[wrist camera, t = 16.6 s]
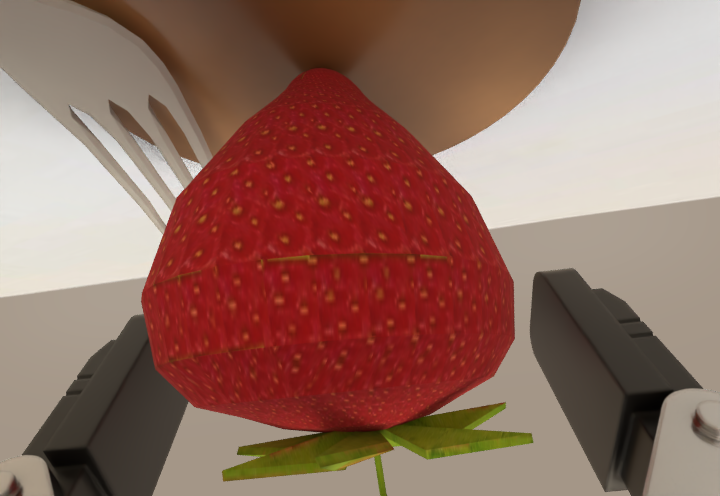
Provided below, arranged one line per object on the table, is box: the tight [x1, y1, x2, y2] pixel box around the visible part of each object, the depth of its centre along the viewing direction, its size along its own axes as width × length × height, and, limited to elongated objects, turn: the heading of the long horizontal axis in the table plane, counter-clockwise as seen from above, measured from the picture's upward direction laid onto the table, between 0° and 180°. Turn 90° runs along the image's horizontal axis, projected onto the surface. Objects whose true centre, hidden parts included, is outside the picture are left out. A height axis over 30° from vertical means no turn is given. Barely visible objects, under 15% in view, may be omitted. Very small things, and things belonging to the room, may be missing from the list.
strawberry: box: [141, 68, 533, 496], centre depth 9 cm, size 6×8×10 cm
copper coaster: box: [71, 0, 581, 163], centre depth 11 cm, size 11×11×1 cm
